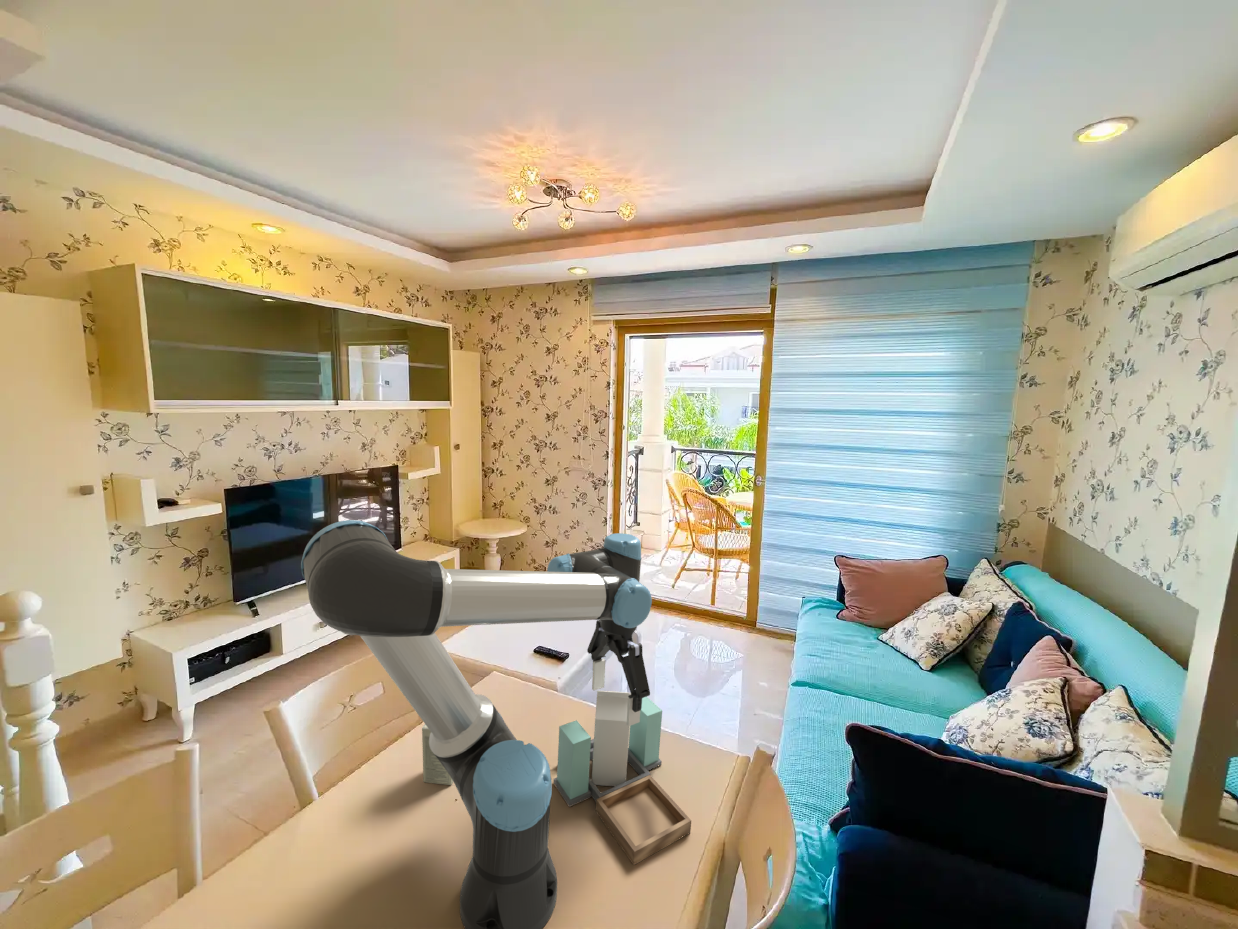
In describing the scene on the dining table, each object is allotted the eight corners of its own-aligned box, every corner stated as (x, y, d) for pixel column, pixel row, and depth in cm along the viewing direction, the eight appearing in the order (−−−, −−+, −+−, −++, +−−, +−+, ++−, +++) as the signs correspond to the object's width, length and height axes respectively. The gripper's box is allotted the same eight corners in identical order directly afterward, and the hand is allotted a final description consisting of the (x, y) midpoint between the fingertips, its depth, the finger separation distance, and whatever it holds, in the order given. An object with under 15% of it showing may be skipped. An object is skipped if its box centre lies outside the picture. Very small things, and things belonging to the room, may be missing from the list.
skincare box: (460, 770, 106) (461, 717, 104) (451, 786, 101) (452, 731, 100) (431, 767, 106) (431, 714, 105) (421, 782, 102) (421, 727, 100)
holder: (575, 817, 96) (579, 755, 94) (544, 770, 107) (547, 714, 106) (669, 773, 108) (673, 718, 107) (632, 735, 120) (636, 685, 118)
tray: (633, 865, 87) (634, 852, 86) (595, 811, 97) (596, 799, 97) (690, 833, 94) (691, 820, 93) (649, 786, 105) (649, 774, 104)
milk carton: (625, 788, 104) (631, 703, 101) (591, 785, 104) (596, 701, 101) (625, 763, 111) (631, 683, 108) (593, 760, 111) (598, 681, 108)
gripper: (672, 631, 94) (665, 733, 97) (603, 585, 115) (599, 671, 118) (640, 640, 90) (633, 747, 93) (574, 591, 111) (571, 680, 114)
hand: (614, 705), depth 105 cm, fingers open, 13 cm apart
